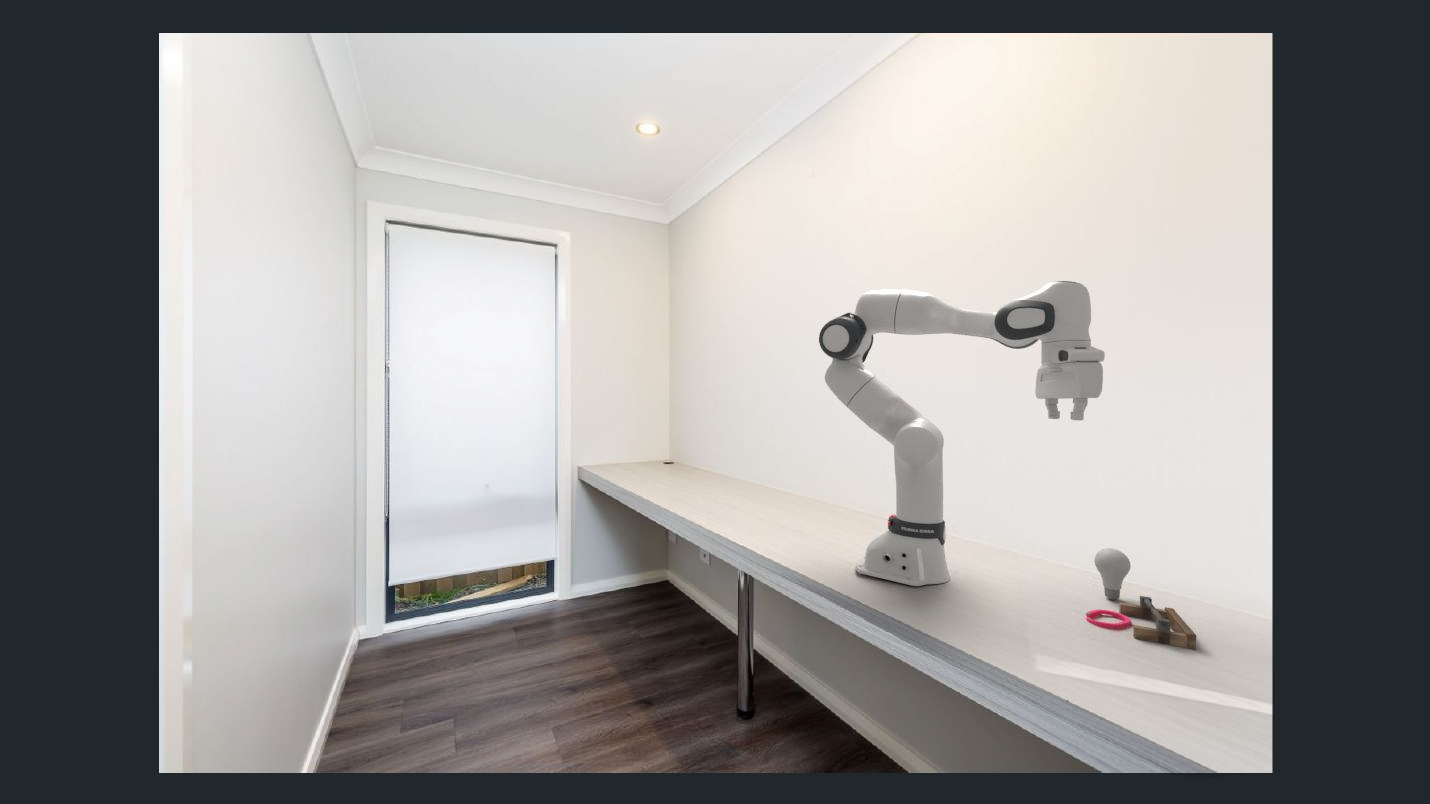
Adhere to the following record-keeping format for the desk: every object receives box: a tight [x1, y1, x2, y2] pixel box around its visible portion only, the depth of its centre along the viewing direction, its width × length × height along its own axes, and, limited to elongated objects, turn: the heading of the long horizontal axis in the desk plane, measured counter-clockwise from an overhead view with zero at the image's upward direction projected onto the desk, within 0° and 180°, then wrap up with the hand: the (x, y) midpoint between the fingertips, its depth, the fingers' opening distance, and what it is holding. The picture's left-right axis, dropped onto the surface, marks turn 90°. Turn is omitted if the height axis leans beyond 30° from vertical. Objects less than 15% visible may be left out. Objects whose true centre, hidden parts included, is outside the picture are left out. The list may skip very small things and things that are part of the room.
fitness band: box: [1085, 609, 1132, 631], centre depth 97 cm, size 8×6×2 cm
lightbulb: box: [1093, 547, 1131, 601], centre depth 108 cm, size 6×6×11 cm
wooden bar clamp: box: [1118, 595, 1197, 651], centre depth 93 cm, size 8×13×4 cm, turn 151°
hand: (1064, 419), depth 109 cm, fingers open, 8 cm apart
